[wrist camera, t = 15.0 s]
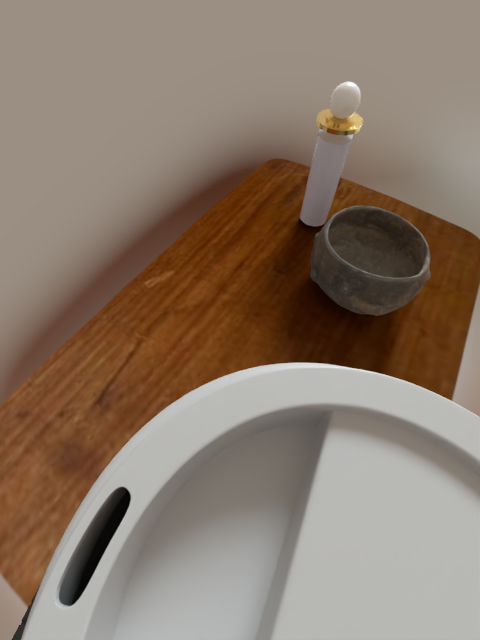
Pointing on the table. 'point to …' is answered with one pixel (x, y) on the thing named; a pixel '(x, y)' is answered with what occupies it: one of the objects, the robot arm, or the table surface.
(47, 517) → the table surface
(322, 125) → the perfume bottle
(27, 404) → the table surface
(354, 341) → the table surface
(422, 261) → the bowl
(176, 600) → the coffee cup
